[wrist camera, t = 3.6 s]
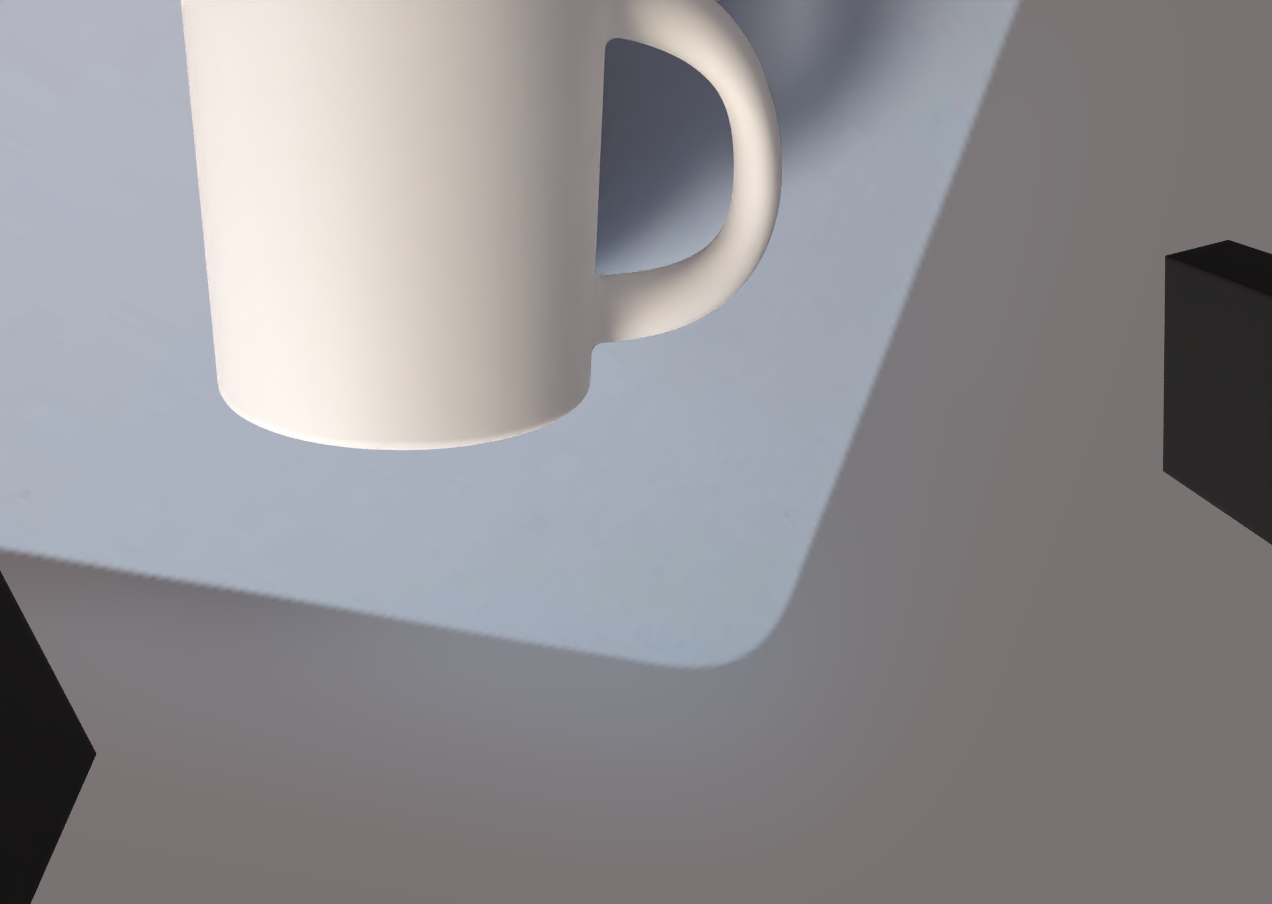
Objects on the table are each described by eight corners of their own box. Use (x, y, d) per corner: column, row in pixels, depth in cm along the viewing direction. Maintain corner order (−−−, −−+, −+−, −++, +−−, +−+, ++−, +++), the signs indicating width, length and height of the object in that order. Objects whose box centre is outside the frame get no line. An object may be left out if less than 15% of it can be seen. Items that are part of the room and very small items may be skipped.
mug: (250, 329, 27) (183, 458, 20) (213, -120, 23) (112, -165, 16) (717, 333, 29) (810, 450, 22) (755, -79, 25) (883, -101, 18)
